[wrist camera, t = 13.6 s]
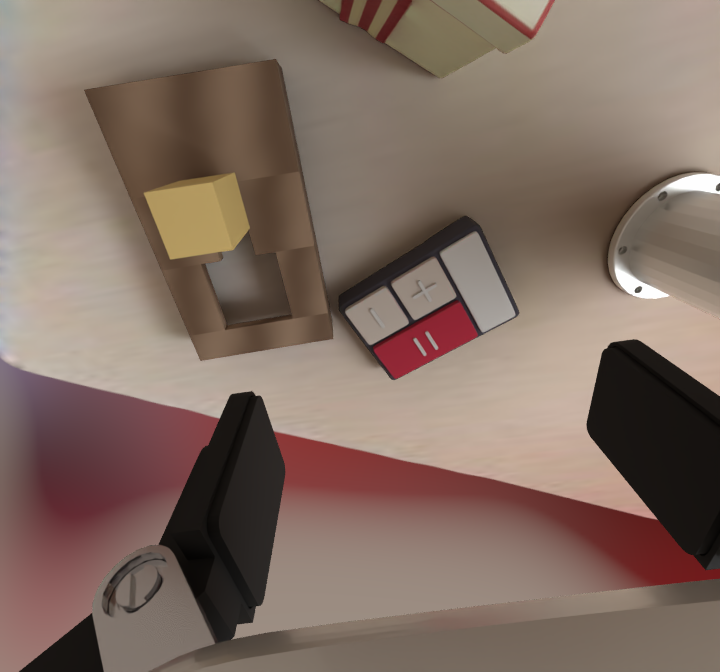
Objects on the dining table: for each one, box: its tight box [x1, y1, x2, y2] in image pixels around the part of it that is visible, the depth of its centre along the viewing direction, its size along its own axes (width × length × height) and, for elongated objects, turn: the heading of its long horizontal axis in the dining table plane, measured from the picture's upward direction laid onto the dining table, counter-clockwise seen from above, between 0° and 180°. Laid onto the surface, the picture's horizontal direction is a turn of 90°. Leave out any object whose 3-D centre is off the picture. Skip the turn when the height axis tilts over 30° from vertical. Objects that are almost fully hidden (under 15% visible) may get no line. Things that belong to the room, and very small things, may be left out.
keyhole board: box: [84, 59, 333, 361], centre depth 32 cm, size 13×22×4 cm, turn 8°
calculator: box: [339, 216, 519, 380], centre depth 37 cm, size 11×4×15 cm
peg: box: [144, 172, 250, 260], centre depth 27 cm, size 5×5×12 cm
